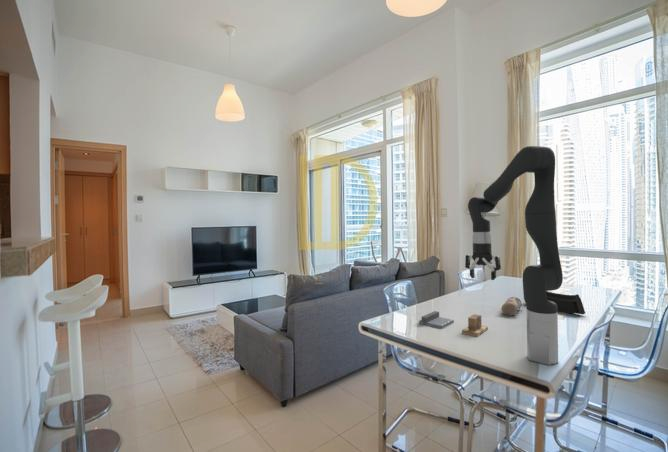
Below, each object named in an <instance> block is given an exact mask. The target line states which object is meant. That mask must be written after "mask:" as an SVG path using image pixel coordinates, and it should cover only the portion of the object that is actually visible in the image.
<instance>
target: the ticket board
mask: <svg viewBox="0 0 668 452" xmlns="http://www.w3.org/2000/svg"><path fill="white" fill-rule="evenodd" d="M420 318H421V319H420V320H418V324H421V325H424V326H429V327H433V328H438V329H445V328H446V327H448V326H450V325H451V324H454V322H455V320H454V319H450V318H447V317H440V312H439V311H436V310H434V311H431V312H429V313H427V314H425V315H422V316H421V317H420Z"/></svg>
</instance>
